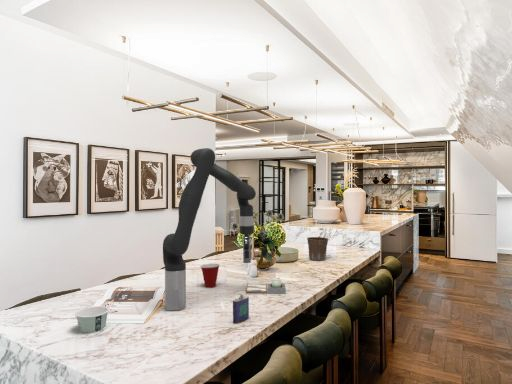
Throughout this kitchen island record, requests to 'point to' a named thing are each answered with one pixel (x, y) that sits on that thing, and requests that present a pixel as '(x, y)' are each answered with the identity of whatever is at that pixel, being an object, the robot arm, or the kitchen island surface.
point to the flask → (240, 309)
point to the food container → (92, 318)
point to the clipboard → (256, 288)
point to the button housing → (276, 289)
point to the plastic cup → (210, 274)
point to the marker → (248, 260)
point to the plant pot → (317, 248)
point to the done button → (276, 283)
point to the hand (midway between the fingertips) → (247, 257)
